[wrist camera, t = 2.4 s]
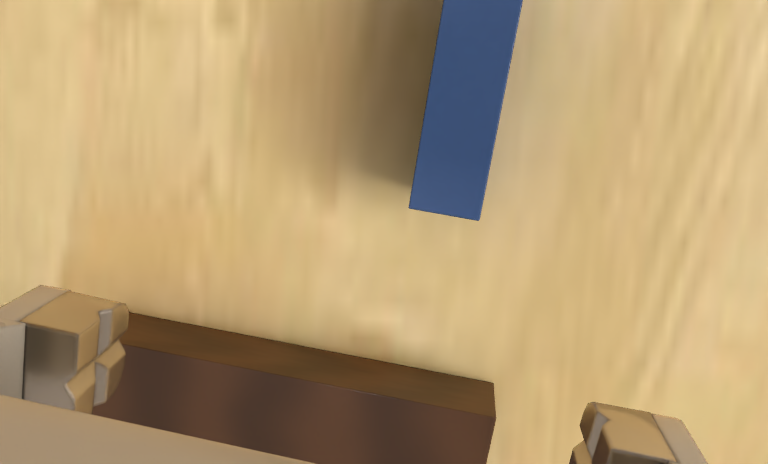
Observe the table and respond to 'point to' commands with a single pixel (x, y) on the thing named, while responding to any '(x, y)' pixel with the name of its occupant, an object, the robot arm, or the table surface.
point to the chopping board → (297, 399)
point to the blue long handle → (464, 105)
